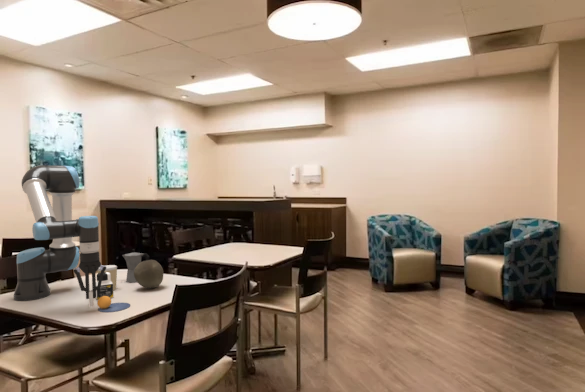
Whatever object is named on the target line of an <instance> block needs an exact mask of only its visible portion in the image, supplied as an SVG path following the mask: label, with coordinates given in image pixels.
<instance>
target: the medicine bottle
mask: <svg viewBox="0 0 585 392" xmlns="http://www.w3.org/2000/svg"><path fill="white" fill-rule="evenodd" d="M99 277H100V273H98V272H97V273H96V286H98V282H99ZM102 296H108V297H109V298H110V299H113V298H114V290H113V283H112V282H111V275H110V273H109V272H104V274H103V278H102V282H101V287H100V289H98V290H96V298H95V299H96V300H97V301H98V300H99V298H100V297H102Z"/></svg>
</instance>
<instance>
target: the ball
mask: <svg viewBox="0 0 585 392" xmlns="http://www.w3.org/2000/svg"><path fill="white" fill-rule="evenodd" d="M111 304H112V298H109V297H108V296H102V297H100V298H99V300H97V306H98V308H99V307H100V308H101V309H106V308H108V307H109V306H110V305H111Z"/></svg>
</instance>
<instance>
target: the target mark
mask: <svg viewBox="0 0 585 392" xmlns="http://www.w3.org/2000/svg"><path fill="white" fill-rule="evenodd" d="M130 307H131V304H130V303H129V302H113V303H112V302H111V305H110V306H109V307H108V308H106V309H101V308H100V307H99V306H98V309H97V310H98V312H101V313H114V312H121V311H124V310H126V309H128V308H130Z"/></svg>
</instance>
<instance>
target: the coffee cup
mask: <svg viewBox="0 0 585 392" xmlns="http://www.w3.org/2000/svg"><path fill="white" fill-rule="evenodd" d="M105 266H106V270H105V271H104V272H109V273H110V275H111V282H112V283H113V291H115V290H116V289H117V279H118V278H117V275H118V270H117V269H118V266H117V265H115V264H109V265H107V264H106V265H105ZM98 273H101V270H100V267H99V269H98V270H97V274H98Z"/></svg>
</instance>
